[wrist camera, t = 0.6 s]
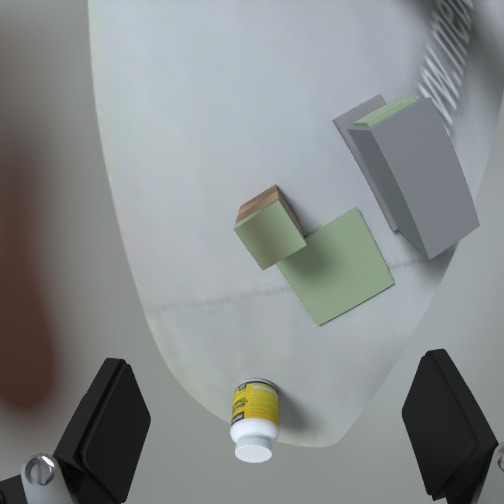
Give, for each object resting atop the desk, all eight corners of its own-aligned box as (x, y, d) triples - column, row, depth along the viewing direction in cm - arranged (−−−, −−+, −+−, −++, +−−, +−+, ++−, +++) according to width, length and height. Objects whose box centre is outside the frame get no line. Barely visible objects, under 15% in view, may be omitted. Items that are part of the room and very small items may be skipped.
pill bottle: (252, 370, 43) (249, 435, 33) (286, 389, 45) (290, 452, 34) (226, 393, 45) (217, 454, 35) (259, 410, 47) (257, 470, 36)
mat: (355, 207, 34) (357, 208, 33) (392, 281, 37) (394, 283, 37) (271, 256, 37) (272, 258, 36) (317, 323, 40) (317, 326, 39)
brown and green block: (275, 184, 34) (279, 201, 26) (297, 218, 35) (306, 245, 27) (240, 206, 35) (233, 230, 27) (263, 239, 36) (262, 270, 28)
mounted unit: (377, 95, 29) (424, 85, 19) (430, 203, 33) (482, 235, 23) (332, 120, 31) (363, 118, 20) (390, 228, 35) (432, 269, 25)
